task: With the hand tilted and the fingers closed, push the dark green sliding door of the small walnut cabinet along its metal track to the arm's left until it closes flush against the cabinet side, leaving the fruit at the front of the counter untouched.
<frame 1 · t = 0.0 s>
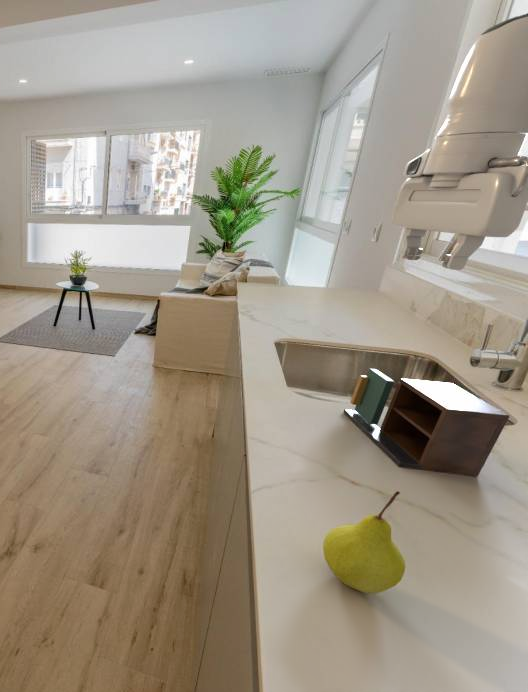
hand: (429, 264, 63), 31 cm above the worktop, tool pointing down, fingers open, 8 cm apart
cabinet: (424, 452, 73), on the worktop
fruit: (349, 582, 48), on the worktop
sliding door: (369, 396, 81), point 6 cm above the worktop, slide at 6.5 cm
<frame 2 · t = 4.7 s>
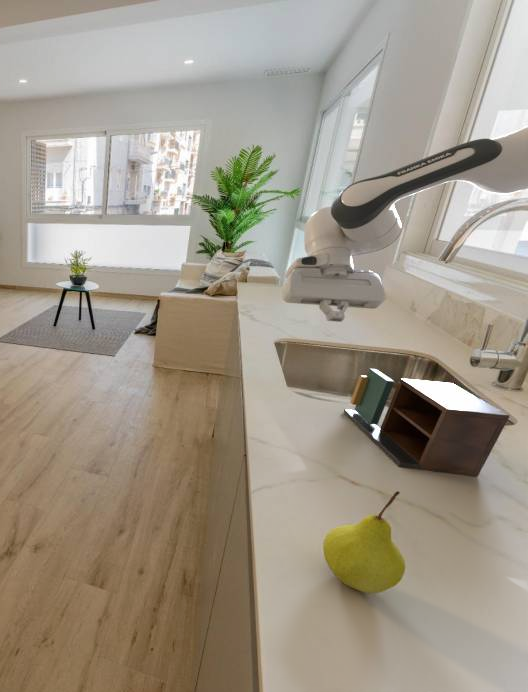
hand: (335, 320, 95), 15 cm above the worktop, tool tilted 45°, fingers closed
nothing on the worktop moved.
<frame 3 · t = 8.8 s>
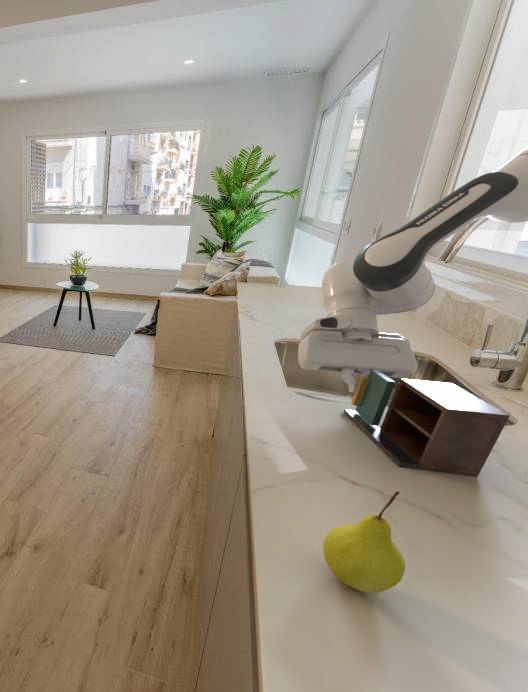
hand: (359, 392, 84), 5 cm above the worktop, tool tilted 45°, fingers closed, pressing on sliding door
sliding door: (370, 396, 80), point 6 cm above the worktop, slide at 6.2 cm, touching gripper
everything else where it was.
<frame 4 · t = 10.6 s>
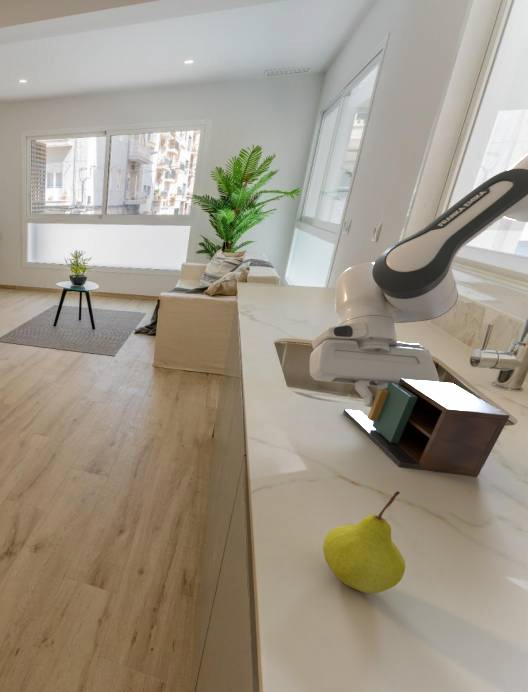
hand: (376, 406, 78), 5 cm above the worktop, tool tilted 45°, fingers closed
sliding door: (389, 411, 75), point 6 cm above the worktop, slide at 0.0 cm, touching gripper
everything else where it was.
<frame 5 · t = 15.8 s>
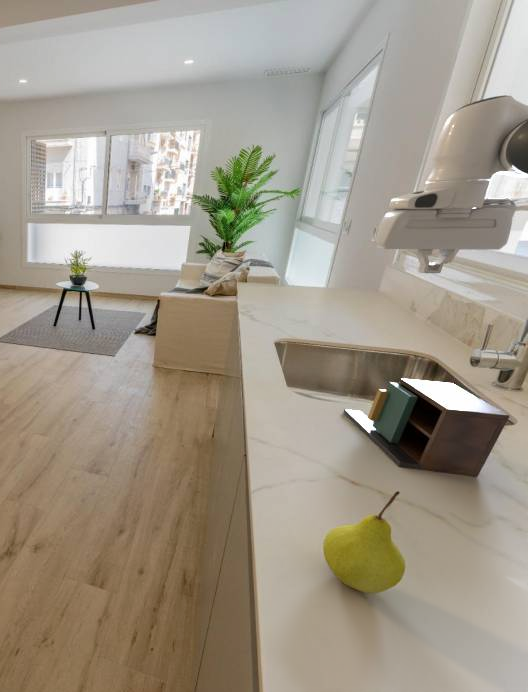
hand: (428, 272, 85), 27 cm above the worktop, tool pointing down, fingers closed
sliding door: (389, 411, 75), point 6 cm above the worktop, slide at 0.0 cm
everything else where it was.
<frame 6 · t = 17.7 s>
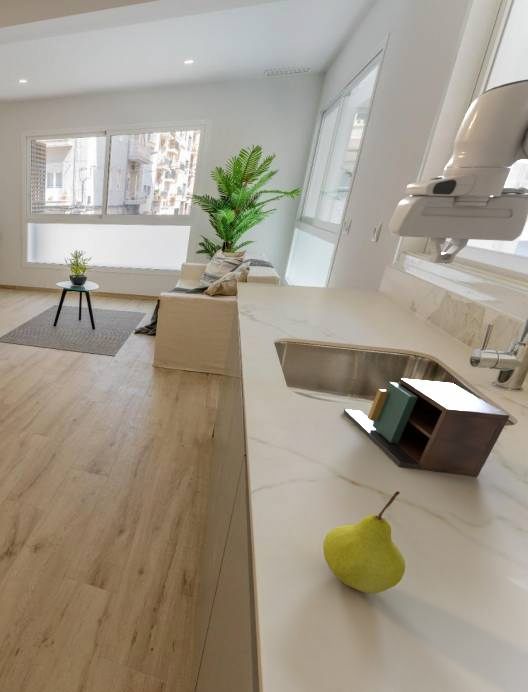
hand: (439, 262, 83), 29 cm above the worktop, tool pointing down, fingers closed
nothing on the worktop moved.
at the end: sliding door slide at 0.0 cm; fruit moved 0.2 cm from its start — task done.
